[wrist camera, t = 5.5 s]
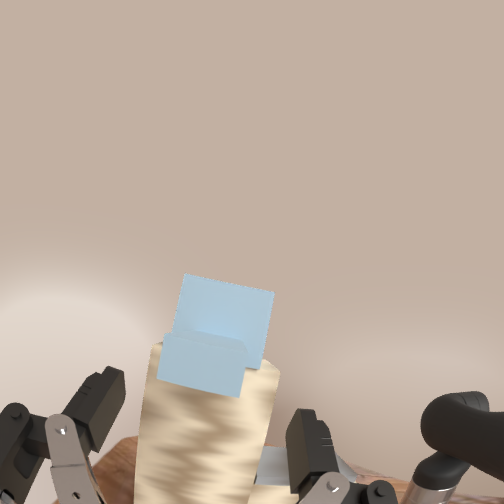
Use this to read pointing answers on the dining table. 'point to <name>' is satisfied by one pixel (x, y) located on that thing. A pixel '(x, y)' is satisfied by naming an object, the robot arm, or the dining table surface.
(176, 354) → the blue handle block
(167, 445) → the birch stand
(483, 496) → the dining table surface
